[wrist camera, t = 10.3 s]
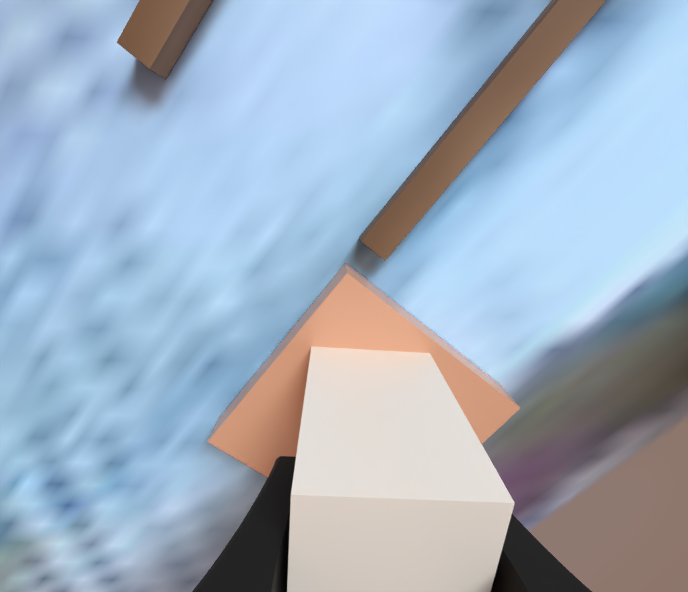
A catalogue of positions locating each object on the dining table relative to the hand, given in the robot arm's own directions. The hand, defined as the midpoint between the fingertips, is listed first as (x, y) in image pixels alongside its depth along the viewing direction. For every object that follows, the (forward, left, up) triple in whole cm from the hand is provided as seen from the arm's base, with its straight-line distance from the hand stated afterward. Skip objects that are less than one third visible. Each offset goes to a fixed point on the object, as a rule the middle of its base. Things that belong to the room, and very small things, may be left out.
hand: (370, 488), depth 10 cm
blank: (0, 0, -3) cm, 3 cm away
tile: (0, 0, -4) cm, 4 cm away
